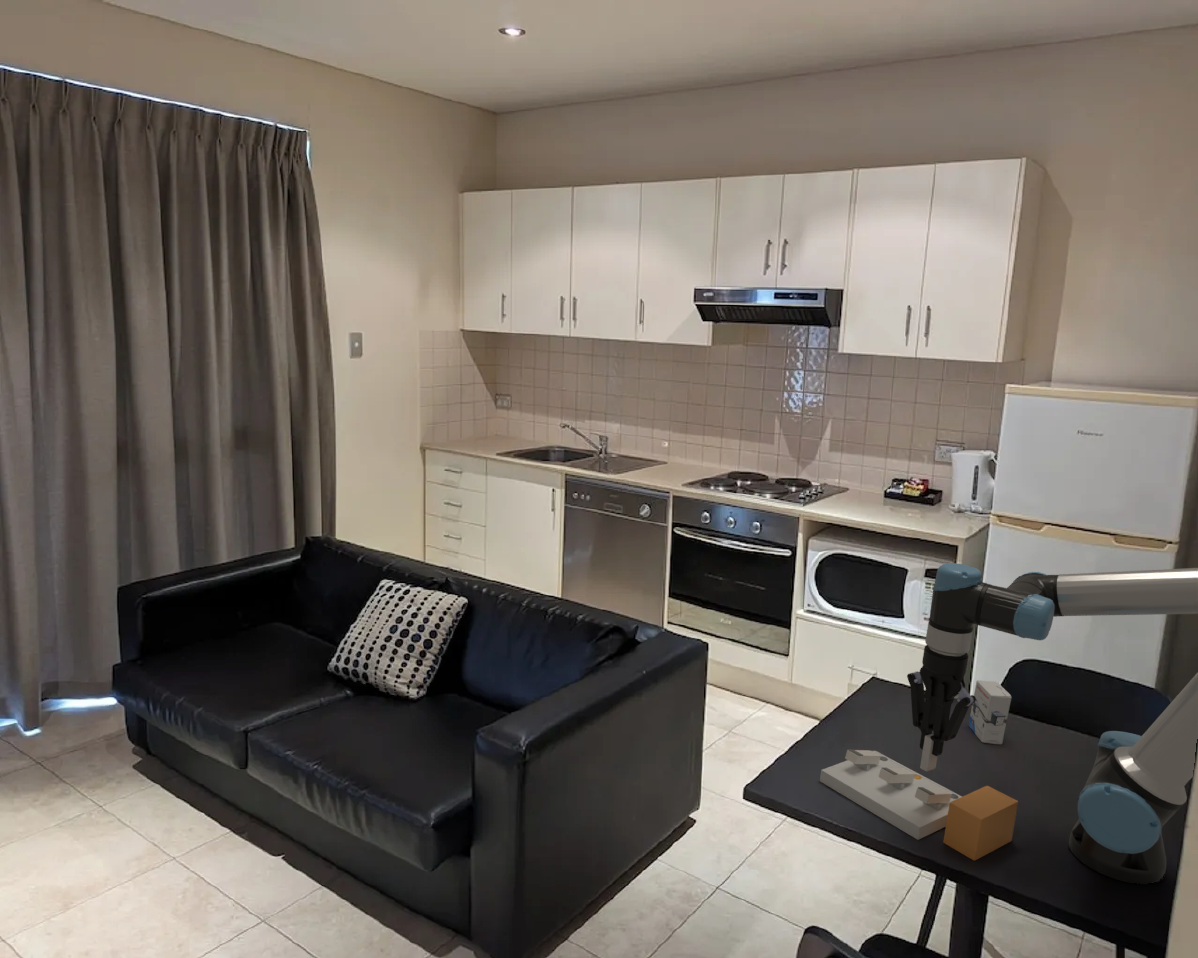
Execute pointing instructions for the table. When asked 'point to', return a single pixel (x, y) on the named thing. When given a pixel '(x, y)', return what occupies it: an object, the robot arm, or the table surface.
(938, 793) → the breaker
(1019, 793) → the table surface
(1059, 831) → the table surface
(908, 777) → the block
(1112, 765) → the robot arm
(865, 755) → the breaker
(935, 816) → the panel
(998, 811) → the brown block
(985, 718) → the ink box
